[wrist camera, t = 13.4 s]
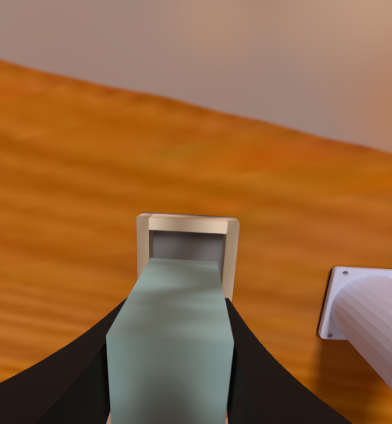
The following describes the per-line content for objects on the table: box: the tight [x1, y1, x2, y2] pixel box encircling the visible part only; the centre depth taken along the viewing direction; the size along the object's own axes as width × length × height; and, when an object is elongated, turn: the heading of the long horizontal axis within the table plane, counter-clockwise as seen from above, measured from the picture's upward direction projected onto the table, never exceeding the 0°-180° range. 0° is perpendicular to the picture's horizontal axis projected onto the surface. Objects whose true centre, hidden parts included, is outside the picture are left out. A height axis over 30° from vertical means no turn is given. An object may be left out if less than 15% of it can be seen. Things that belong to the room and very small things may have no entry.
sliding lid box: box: [137, 212, 240, 302], centre depth 18 cm, size 8×18×2 cm, turn 177°
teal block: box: [106, 258, 234, 424], centre depth 10 cm, size 4×4×6 cm
